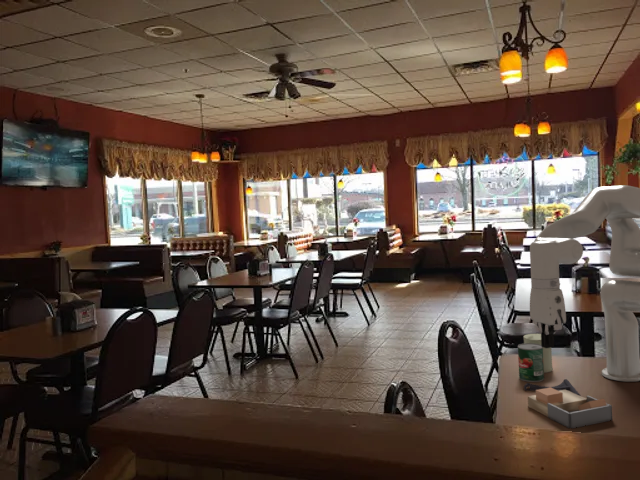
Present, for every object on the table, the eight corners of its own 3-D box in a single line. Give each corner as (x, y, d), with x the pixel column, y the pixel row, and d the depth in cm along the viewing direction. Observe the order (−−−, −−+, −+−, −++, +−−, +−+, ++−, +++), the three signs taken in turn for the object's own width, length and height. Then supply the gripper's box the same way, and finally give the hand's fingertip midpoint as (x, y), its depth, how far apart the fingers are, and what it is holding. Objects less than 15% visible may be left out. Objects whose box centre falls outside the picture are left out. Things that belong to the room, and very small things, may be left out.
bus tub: (588, 409, 154) (588, 395, 154) (612, 420, 146) (611, 405, 146) (548, 417, 151) (547, 403, 150) (569, 428, 142) (569, 413, 142)
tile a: (604, 398, 147) (608, 407, 146) (592, 403, 152) (596, 412, 150) (588, 401, 146) (592, 411, 145) (577, 406, 150) (581, 415, 149)
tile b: (550, 395, 158) (550, 387, 158) (562, 401, 154) (562, 392, 153) (536, 398, 157) (535, 390, 157) (547, 404, 152) (547, 395, 152)
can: (519, 367, 196) (517, 334, 195) (540, 363, 199) (539, 330, 198) (536, 374, 187) (535, 339, 186) (558, 370, 190) (557, 336, 189)
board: (565, 399, 163) (565, 389, 163) (588, 409, 154) (587, 399, 154) (528, 406, 159) (527, 396, 159) (548, 417, 151) (548, 406, 151)
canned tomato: (514, 379, 184) (513, 347, 183) (525, 373, 189) (523, 342, 188) (538, 383, 178) (536, 350, 177) (548, 377, 183) (546, 345, 183)
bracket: (520, 384, 180) (520, 376, 180) (568, 384, 178) (568, 375, 177) (528, 400, 166) (528, 391, 166) (581, 400, 163) (580, 390, 163)
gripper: (575, 285, 151) (578, 351, 152) (538, 279, 165) (540, 340, 166) (553, 288, 149) (555, 354, 150) (517, 282, 163) (520, 343, 164)
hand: (547, 346), depth 158 cm, fingers closed
